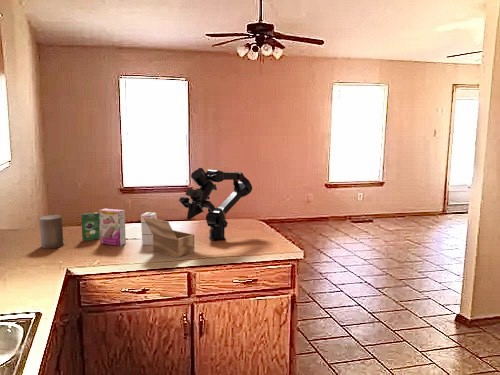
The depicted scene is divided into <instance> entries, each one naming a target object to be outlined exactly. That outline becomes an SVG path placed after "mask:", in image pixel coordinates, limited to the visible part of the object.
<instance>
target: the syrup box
mask: <svg viewBox="0 0 500 375" xmlns="http://www.w3.org/2000/svg"><path fill="white" fill-rule="evenodd" d="M143 216H145V217H149V218H154V219H158V216H157V212H152V211H148V212H145V213H142V214H141V215H140V222H141V244H142V245H145V246H153V234H152V233H151V231H150V229H149V227H148V226H147V224H146V222H145V220H144V218H143Z"/></svg>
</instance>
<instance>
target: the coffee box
mask: <svg viewBox="0 0 500 375" xmlns="http://www.w3.org/2000/svg"><path fill="white" fill-rule="evenodd" d="M81 238H82V242H88V241H94V240H100V220H99V212H96V211H95V212H89V213H81Z"/></svg>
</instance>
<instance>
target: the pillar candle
mask: <svg viewBox="0 0 500 375" xmlns="http://www.w3.org/2000/svg"><path fill="white" fill-rule="evenodd" d="M39 227H40V228H39V230H40V231H39V232H40V246H41V248H42V249H57V248H61V247H63V246H64V233H63V217H62V215H60V214H51V213H50V215H44V216H40V217H39Z"/></svg>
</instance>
